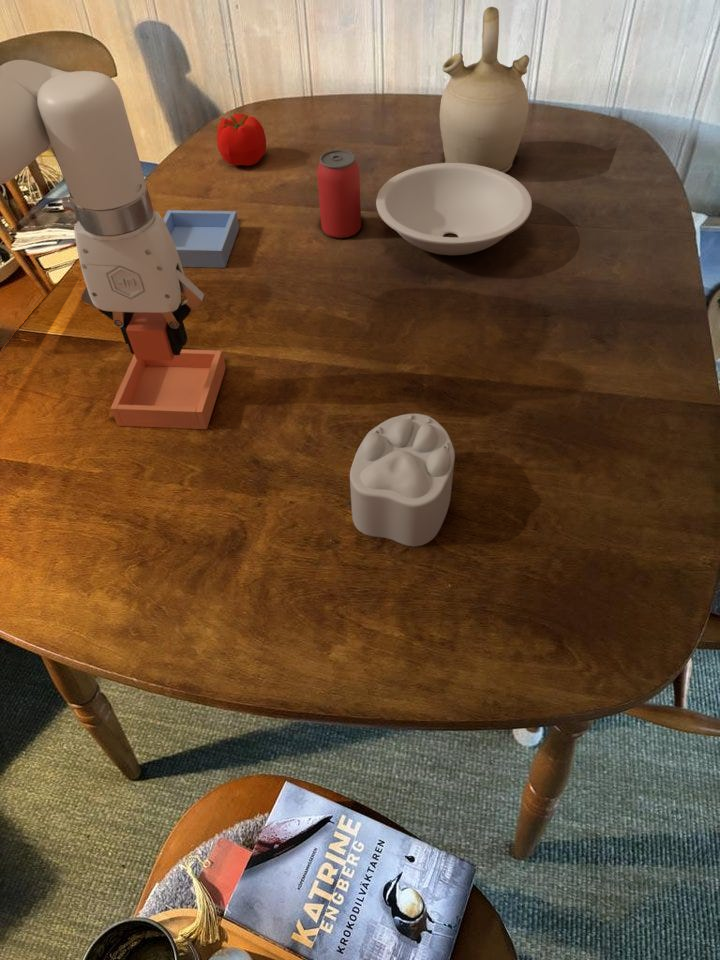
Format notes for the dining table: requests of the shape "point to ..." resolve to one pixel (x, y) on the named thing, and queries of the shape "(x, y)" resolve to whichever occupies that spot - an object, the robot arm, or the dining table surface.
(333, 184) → the beer can
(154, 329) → the terracotta block
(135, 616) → the dining table surface
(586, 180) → the dining table surface
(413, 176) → the vessel sink basin
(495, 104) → the jug
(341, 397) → the dining table surface
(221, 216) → the blue tray
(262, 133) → the tomato
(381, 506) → the lumpy-topped squat cylinder
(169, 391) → the terracotta tray
